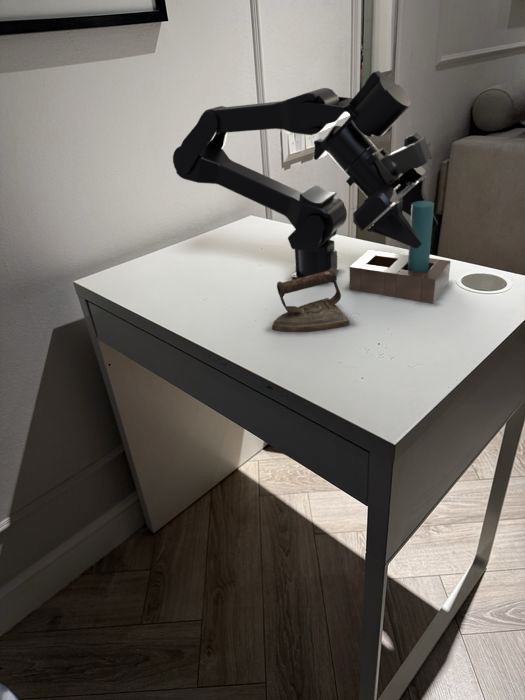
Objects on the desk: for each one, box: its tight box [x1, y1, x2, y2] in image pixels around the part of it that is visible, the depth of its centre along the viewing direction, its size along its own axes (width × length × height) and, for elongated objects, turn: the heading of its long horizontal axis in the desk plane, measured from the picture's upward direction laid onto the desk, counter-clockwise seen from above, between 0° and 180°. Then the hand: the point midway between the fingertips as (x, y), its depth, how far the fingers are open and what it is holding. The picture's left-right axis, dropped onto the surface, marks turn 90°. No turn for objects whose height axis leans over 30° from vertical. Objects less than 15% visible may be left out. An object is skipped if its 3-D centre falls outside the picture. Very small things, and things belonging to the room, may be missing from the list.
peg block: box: [349, 249, 452, 304], centre depth 85 cm, size 14×8×4 cm, turn 57°
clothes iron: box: [271, 268, 351, 333], centre depth 76 cm, size 7×11×10 cm, turn 107°
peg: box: [407, 200, 435, 273], centre depth 81 cm, size 3×3×14 cm
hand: (427, 236), depth 79 cm, fingers open, 9 cm apart
